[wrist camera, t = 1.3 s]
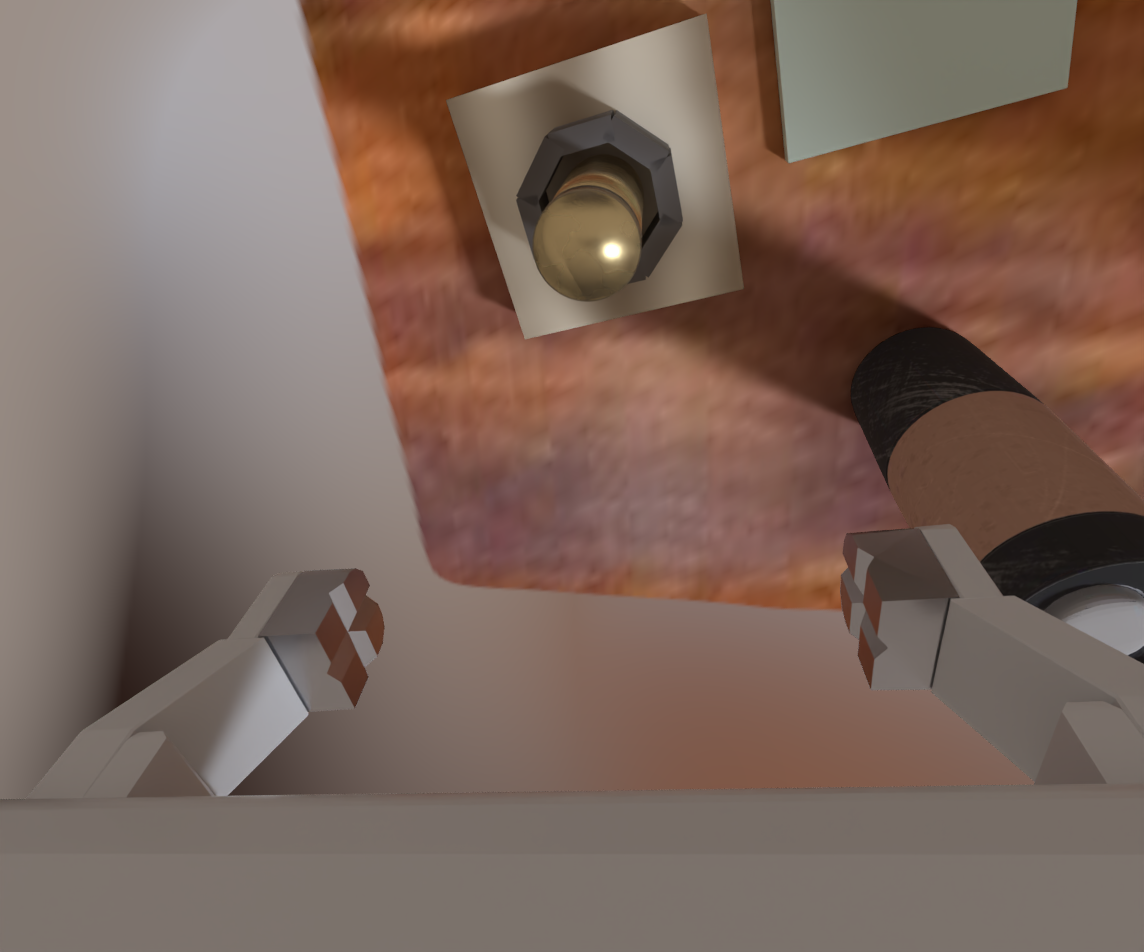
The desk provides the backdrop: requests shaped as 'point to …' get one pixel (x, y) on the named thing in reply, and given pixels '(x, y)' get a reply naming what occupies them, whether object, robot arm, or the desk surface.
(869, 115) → the sage pad
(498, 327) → the desk surface
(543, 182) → the beige base with ring
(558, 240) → the brass peg
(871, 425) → the travel mug
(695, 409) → the desk surface
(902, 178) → the desk surface
